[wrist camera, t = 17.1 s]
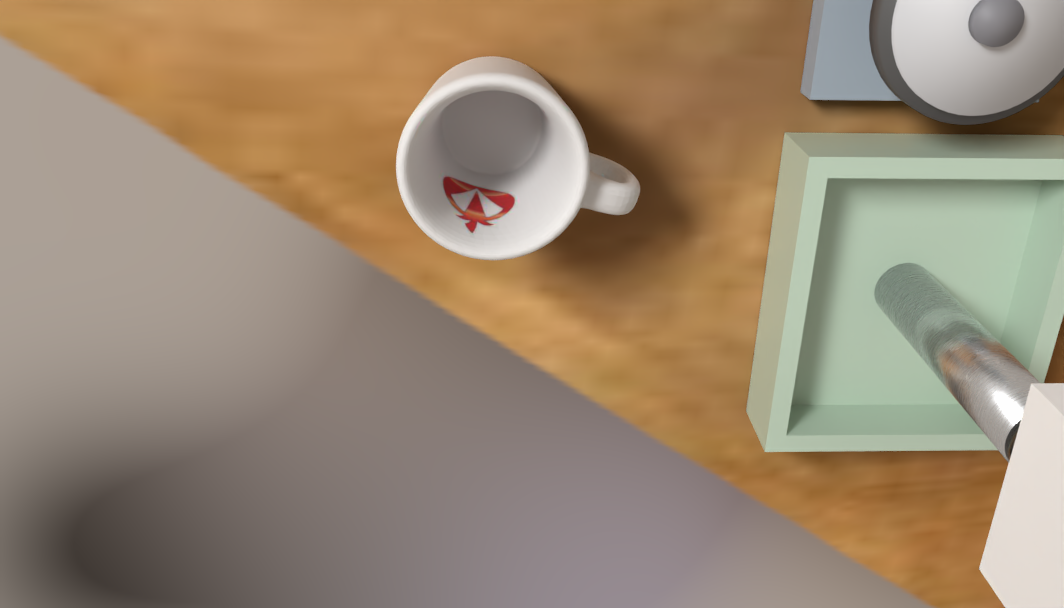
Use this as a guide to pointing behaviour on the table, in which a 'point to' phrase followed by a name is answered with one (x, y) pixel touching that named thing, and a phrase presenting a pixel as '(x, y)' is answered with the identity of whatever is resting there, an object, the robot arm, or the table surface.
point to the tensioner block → (936, 54)
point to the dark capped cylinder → (957, 351)
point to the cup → (501, 163)
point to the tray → (879, 244)
